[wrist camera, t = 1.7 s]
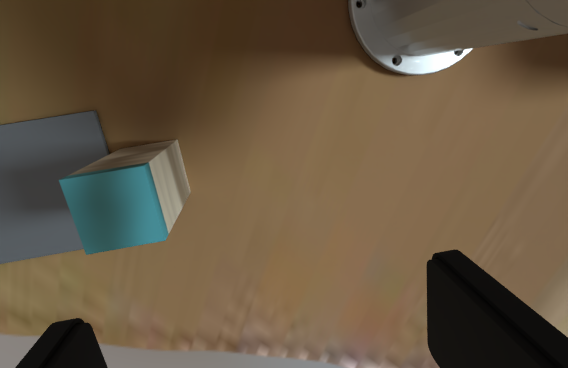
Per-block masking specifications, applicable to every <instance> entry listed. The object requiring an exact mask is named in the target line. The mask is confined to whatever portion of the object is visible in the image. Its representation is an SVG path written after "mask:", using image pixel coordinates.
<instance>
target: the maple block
mask: <svg viewBox="0 0 568 368" xmlns="http://www.w3.org/2000/svg"><path fill="white" fill-rule="evenodd" d="M59 182H60V185H61V188H62V190H63V193H64V196H65V199H66V201H67V204H68V207H69V209H70V212H71V215H72V218H73V220H74V223H75V226H76V228H77V231H78V234H79V237H80V239H81V242H82V245H83V247H84V250H85V253H86V255H87V254H93V253H98V252H104V251H109V250H115V249H121V248H126V247H132V246H137V245H143V244H148V243H154V242H160V241H165V240H166V238H167V236H168V234H169V232H170V230H171V229H172V227H173V225H174V223H175V221H176V219H177V217H178V215H179V213H180V211H181V210H182V208H183V206H184V204H185V202H186V200H187V198H188V196H189V194H190V193H191V192H190V188H189V184H188V180H187V176H186V172H185V168H184V164H183V160H182V155H181V151H180V147H179V143H178V139H177V140H171V141H165V142H159V143H153V144H147V145H141V146H134V147H128V148H122V149H119V150H117V151H115V152H113V153H111V154H109V155H107V156H105V157H103V158H101V159H99V160H97V161H95V162H93V163H91V164H89V165H88V166H86V167H84V168H82V169H80V170H78V171H76V172H74V173H72V174H70V175H68V176H66V177H64V178H62V179H60V180H59Z"/></svg>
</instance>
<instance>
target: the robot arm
mask: <svg viewBox="0 0 568 368" xmlns="http://www.w3.org/2000/svg"><path fill="white" fill-rule="evenodd" d="M356 2H359V3H360V8H358V7H357V6H356ZM348 7H349V15H350V19H351V24H352V28H353V30H354V32H355V35H356V37H357V40H358V41H359V43H360V44H361V46H362V47H363V49H364V51H365V52H366V53H367V54H368V55H369V56H370V57H371V58H372V59H373V60H374V61H375V62H376V63H378V64H379V65H381V66H382V67H384V68H385V69H388V70H390V71H393V72H396V73H399V74H405V75H425V74H431V73H436V72H438V71H441V70H444V69H446V68H448V67H450V66H452V65H453V64H455V63H457V62H458V61H460V60H461V59H462V58H463V57H465V56H466V55H467V54H468V53H469V52H470V51H471V50H472V49H473V48H479V47H485V46H491V45H498V44H504V43H511V42H517V41H523V40H530V39H536V38H542V37H549V36H555V35H562V34H568V0H348ZM454 51H455V53H454ZM392 58H394V59H395V63H394V64H393V63H392ZM427 333H428V347H429V350H430V352H431V355H432V356H433V358H434V360H435V361H436V363H437V364H438V366H439V367H440V368H568V337H566V336H565V335H564V334H563V333H561V332H560V331H559V330H558V329H556V328H555V327H554V326H553V325H551V324H550V323H549V322H548V321H546V320H545V319H544V318H543V317H541V316H540V315H539V314H538V313H536V312H535V311H534V310H533V309H531V308H530V307H529V306H528V305H526V304H525V303H524V302H523V301H521V300H520V299H519V298H518V297H516V296H515V295H514V294H513V293H511V292H510V291H509V290H508V289H506V288H505V287H504V286H503V285H501V284H500V283H499V282H498V281H496V280H495V279H494V278H493V277H491V276H490V275H489V274H488V273H486V272H485V271H484V270H483V269H481V268H480V267H479V266H478V265H476V264H475V263H474V262H473V261H471V260H470V259H469V258H468V257H466V256H465V255H464V254H463V253H461V252H460V251H458V250H450V251H445V252H439V253H435V254H433V256H432V260H429V261H428V262H427ZM16 368H107V365H106V362H105V360H104V357H103V355H102V352H101V350H100V347H99V344H98V342H97V339H96V337H95V334H94V331H93V329H92V327H91V325H90V324H89V323H84V321H83V320H82V319H80V318H76V319H70V320H65V321H59V322H55V323H52V324H51V325H50V326H49V327H48V328H47V330H46V331H45V332H44V333H43V334H42V336H41V337H40V338H39V339H38V341H37V342H36V343H35V344H34V346H33V347H32V348H31V349H30V350H29V352H28V353H27V354H26V355H25V356H24V358H23V359H22V360H21V361H20V363H19V364H18V365H17V366H16Z"/></svg>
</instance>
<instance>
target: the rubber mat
mask: <svg viewBox="0 0 568 368" xmlns="http://www.w3.org/2000/svg"><path fill="white" fill-rule="evenodd" d="M107 155H109V150H108V147H107V144H106V141H105V138H104V135H103V131H102V128H101V125H100V122H99V119H98V115H97V112H96V110H95V111H88V112H82V113H76V114H69V115H63V116H57V117H50V118H44V119H37V120H31V121H25V122H18V123H12V124H5V125H0V264H2V263H7V262H13V261H19V260H24V259H30V258H35V257H41V256H47V255H52V254H58V253H63V252H69V251H74V250H80V249H84V247H83V245H82V242H81V239H80V237H79V234H78V231H77V228H76V226H75V223H74V220H73V218H72V215H71V212H70V209H69V207H68V204H67V201H66V199H65V196H64V193H63V190H62V188H61V185H60V182H59V180H60V179H62V178H64V177H66V176H68V175H70V174H72V173H74V172H76V171H78V170H80V169H82V168H84V167H86V166H88V165H89V164H91V163H93V162H95V161H97V160H99V159H101V158H103V157H105V156H107Z"/></svg>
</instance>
